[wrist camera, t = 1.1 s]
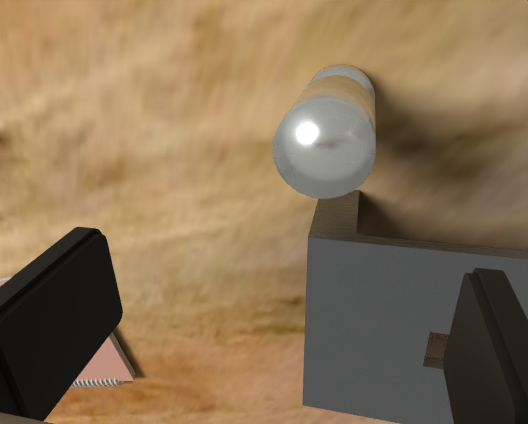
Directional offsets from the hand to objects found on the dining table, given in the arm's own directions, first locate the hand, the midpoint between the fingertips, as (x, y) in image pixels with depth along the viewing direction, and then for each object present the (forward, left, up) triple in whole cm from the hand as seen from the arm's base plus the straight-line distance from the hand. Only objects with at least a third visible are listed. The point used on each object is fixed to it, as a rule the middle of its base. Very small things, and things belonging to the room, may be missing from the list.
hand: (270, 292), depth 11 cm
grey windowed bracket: (-10, +15, -22) cm, 29 cm away
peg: (0, 0, -23) cm, 23 cm away
